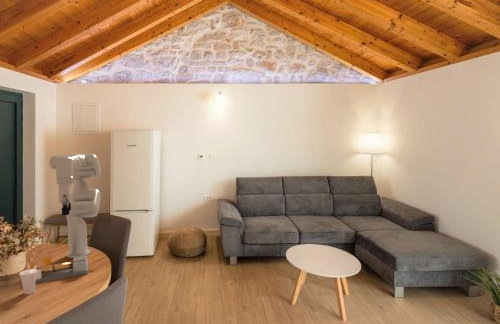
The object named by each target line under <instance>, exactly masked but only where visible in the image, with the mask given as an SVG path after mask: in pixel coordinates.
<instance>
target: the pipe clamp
mask: <svg viewBox="0 0 500 324" xmlns="http://www.w3.org/2000/svg"><path fill="white" fill-rule="evenodd" d="M51 258H52V257H51V256H45V257H43V260H42V263H40V264H38V266H42V265H43V266H48V265H53V264H52V259H51ZM34 267H35V264H30V263H29V269H33V268H34ZM25 270H28V264H26V265H25Z"/></svg>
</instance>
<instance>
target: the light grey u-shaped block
mask: <svg viewBox="0 0 500 324" xmlns="http://www.w3.org/2000/svg"><path fill="white" fill-rule="evenodd" d="M42 266H43V265H42ZM37 267H41V266H39V265H38V264H34V268H33V269H36V270H37ZM42 276H43V274H41V270H37V273H36V280H37V279H41V278H42Z"/></svg>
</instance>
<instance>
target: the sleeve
mask: <svg viewBox="0 0 500 324" xmlns="http://www.w3.org/2000/svg"><path fill="white" fill-rule="evenodd" d="M72 262H73V273H77V272H83V271H87V266H88V255H86V256H79V257H74V258H72Z"/></svg>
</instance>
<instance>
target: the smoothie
mask: <svg viewBox="0 0 500 324" xmlns="http://www.w3.org/2000/svg"><path fill="white" fill-rule="evenodd" d="M29 264H30V262H27V264H26V265H28V270H26V269H24V270H22V271H20V272H19V274H18V275H19V277H20V281H21V285H22V288H23V293H24V295H31V294H34V293H35V290H36V283H35V280H36V273H37V270H36V269H29Z"/></svg>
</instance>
